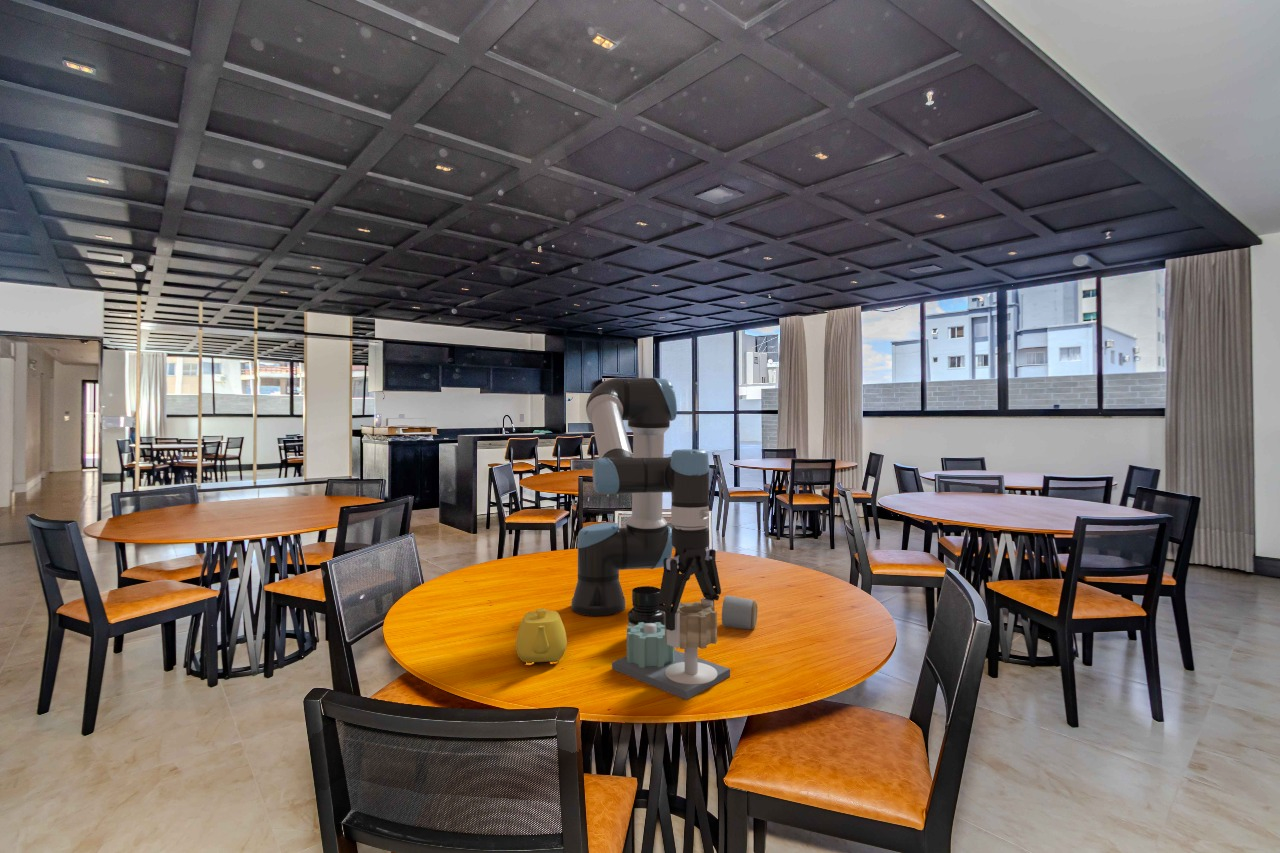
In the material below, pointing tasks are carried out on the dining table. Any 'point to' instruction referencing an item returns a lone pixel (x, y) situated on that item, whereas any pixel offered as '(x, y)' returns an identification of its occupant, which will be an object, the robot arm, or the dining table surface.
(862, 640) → the dining table surface
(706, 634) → the birch gear
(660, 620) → the ink bottle
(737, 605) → the ceramic mug
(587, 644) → the dining table surface
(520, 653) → the teapot
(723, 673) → the gear board
